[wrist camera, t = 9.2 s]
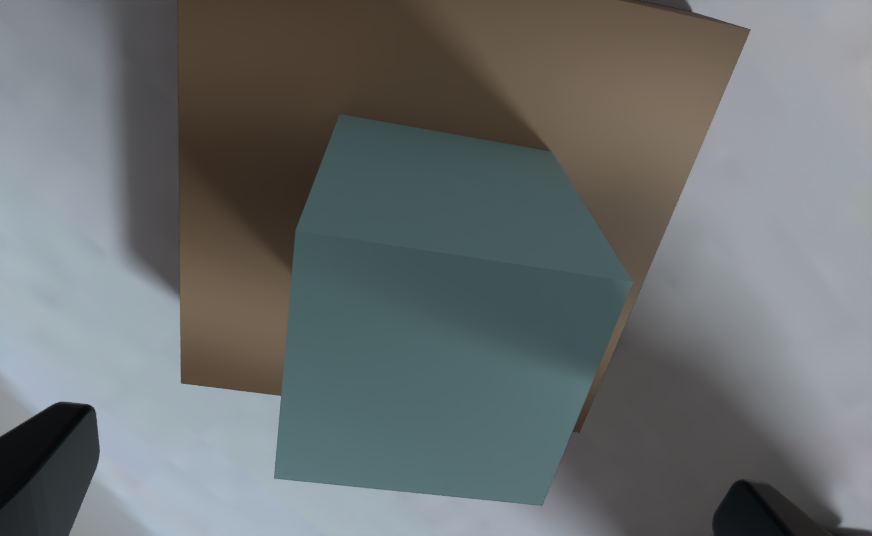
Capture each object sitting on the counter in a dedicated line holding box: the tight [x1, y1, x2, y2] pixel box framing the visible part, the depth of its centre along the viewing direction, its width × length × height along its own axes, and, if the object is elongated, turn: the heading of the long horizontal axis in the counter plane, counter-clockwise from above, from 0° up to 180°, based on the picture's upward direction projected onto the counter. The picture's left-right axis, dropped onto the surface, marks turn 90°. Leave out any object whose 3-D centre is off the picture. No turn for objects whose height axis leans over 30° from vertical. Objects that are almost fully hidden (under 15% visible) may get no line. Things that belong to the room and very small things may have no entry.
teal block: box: [274, 114, 633, 506], centre depth 13 cm, size 5×5×6 cm
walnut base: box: [178, 0, 750, 432], centre depth 16 cm, size 12×12×3 cm
